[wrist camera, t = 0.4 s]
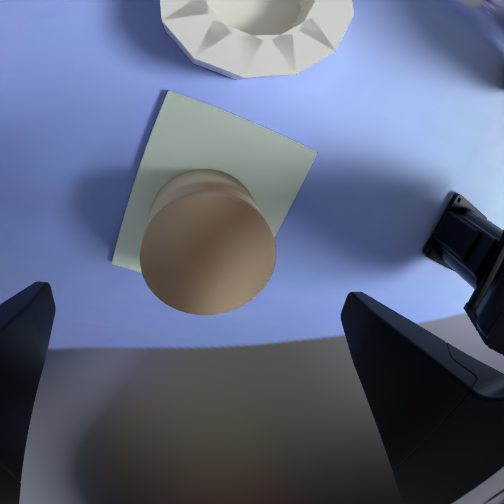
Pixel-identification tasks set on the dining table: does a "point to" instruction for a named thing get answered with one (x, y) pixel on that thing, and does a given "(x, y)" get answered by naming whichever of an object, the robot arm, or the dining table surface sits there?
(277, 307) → the dining table surface
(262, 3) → the bowl
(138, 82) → the dining table surface
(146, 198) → the mat
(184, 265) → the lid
